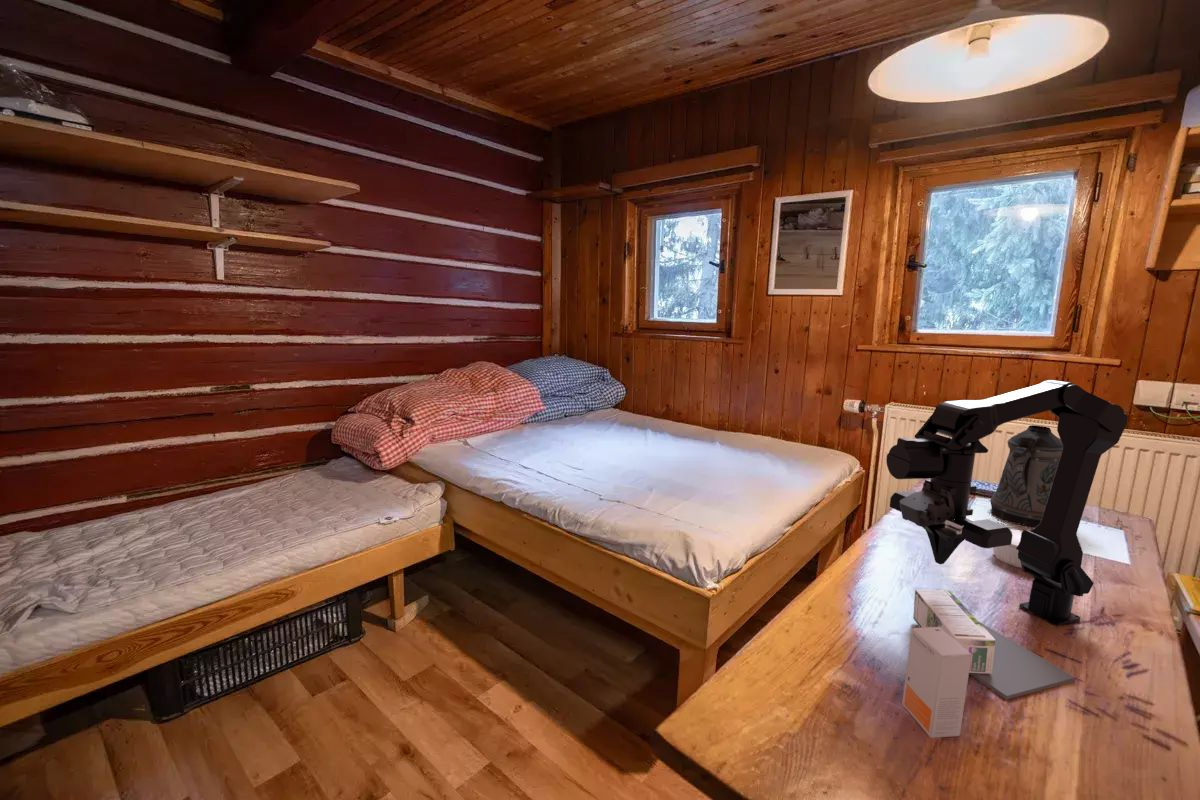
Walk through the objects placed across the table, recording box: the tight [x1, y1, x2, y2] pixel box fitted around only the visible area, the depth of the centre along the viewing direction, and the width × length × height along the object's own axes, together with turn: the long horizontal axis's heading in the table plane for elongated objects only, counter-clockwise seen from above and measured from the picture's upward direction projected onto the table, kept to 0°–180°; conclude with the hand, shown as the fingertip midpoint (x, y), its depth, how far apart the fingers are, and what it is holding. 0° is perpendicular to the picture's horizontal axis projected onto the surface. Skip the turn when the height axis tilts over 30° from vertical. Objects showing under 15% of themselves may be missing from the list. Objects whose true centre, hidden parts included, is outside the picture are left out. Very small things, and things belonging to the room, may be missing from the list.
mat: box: [969, 621, 1076, 701], centre depth 85 cm, size 14×16×1 cm
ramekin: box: [992, 528, 1024, 569], centre depth 118 cm, size 11×11×5 cm
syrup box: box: [913, 589, 995, 673], centre depth 87 cm, size 6×6×14 cm
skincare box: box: [901, 627, 972, 739], centre depth 71 cm, size 6×4×12 cm
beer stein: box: [990, 424, 1063, 529], centre depth 141 cm, size 16×19×25 cm
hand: (939, 563), depth 93 cm, fingers closed
